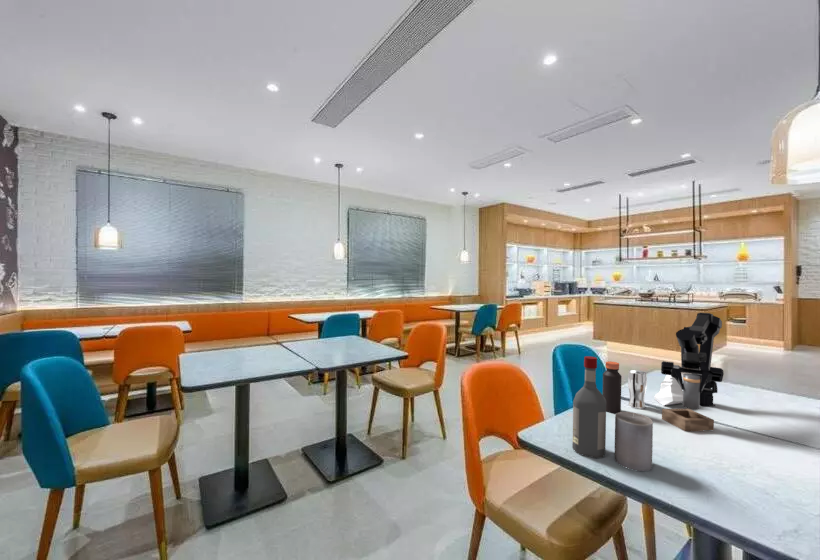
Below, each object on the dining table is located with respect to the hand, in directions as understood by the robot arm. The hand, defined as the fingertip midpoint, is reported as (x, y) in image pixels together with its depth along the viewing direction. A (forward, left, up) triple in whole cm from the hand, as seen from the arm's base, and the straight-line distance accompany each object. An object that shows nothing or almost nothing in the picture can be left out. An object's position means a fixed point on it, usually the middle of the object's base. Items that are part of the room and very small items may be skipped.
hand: (691, 390), depth 134 cm
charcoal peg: (-1, +1, -7) cm, 7 cm away
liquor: (+16, -49, -14) cm, 53 cm away
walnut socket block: (-2, 0, -14) cm, 14 cm away
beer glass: (-21, -6, -14) cm, 26 cm away
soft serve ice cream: (-24, +12, -14) cm, 30 cm away
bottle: (-17, -20, -14) cm, 30 cm away
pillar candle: (+24, -40, -14) cm, 49 cm away
